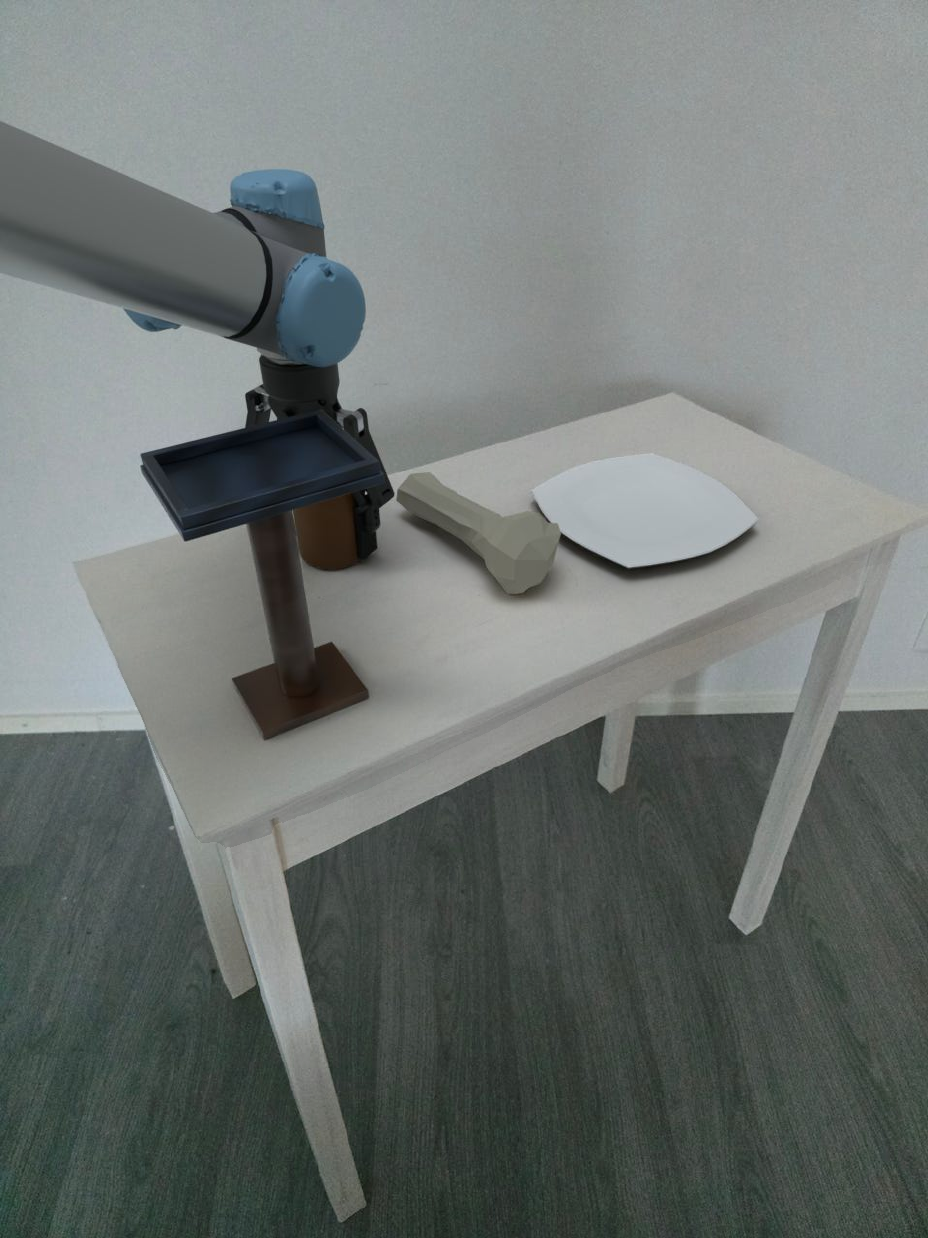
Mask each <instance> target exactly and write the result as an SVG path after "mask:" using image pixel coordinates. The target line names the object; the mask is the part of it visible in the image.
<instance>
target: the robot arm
mask: <svg viewBox="0 0 928 1238" xmlns="http://www.w3.org/2000/svg"><path fill="white" fill-rule="evenodd" d="M230 181H231V182H230V185H229V190H230V199H229V201H230V205H231V207H227V208H225V209H224V208H223V209H221V210H220V211H217V212H211V211H209V210H207V209H204V208H202V207H200V206H198V205H195V204H193V203H190V202H188V201H186V200H184V199H182V198H179V197H177V196H176V195H175V196H174V195H173V194H170V193H168V192H166V191H163V190H161V189H158V188H157V187H154V186H151V185H149V184H147V183H144V182H142V181H140V180H138V179H135V178H133V177H131V176H129V175H126V174H124V173H121V172H119V171H117V170H114V169H113V168H110V167H107V166H106V165H103V164H101V163H98V162H97V161H94V160H92V159H89V158H87V157H85V156H82V155H80V154H78V153H76V152H73V151H71V150H69V149H66V148H65V147H62V146H60V145H57V144H55V143H53V142H50V141H48V140H46V139H44V138H41V137H39V136H36V135H34V134H31V133H29V132H27V131H25V130H23V129H21V128H17V127H16V126H13V125H12V124H9V123H6V122H4V121H2V120H0V274H2V275H5V276H11V277H13V278H16V279H20V280H24V281H27V282H30V283H34V284H37V285H41V286H45V287H48V288H51V289H54V290H59V291H62V292H66V293H69V294H72V295H76V296H79V297H82V298H86V299H90V300H93V301H97V302H101V303H105V304H107V305H111V306H113V307H116V308H117V307H118V308H121V309H123V311H124V312H125V314H126V315H127V316H128V317H129V319H130V320H131V321H132V322H133V323H134V324H135V325H137V326H138V328H140V329H142V330H144V331H147V332H149V333H159V332H162V331H167V330H171V329H173V330H175V331H176V330H179V329H180V328H181V327H182V326H183V327H187V328H189V329H194V330H198V331H201V332H204V333H207V334H211V335H215V336H217V337H220V338H223V339H226V340H229V341H233V342H235V343H240V344H243V345H246V346H250V347H253V348H256V350H257V352H258V353H260V355H259V358H258V363H259V368H260V374H261V380H262V381H261V382H262V384H260V385H258V386H256V387H254V388H252V389H251V390H249V391H247V392H245V394H244V398H245V404H246V410H247V413H246V418H245V426H244V428H246V427H250V426H254V425H259V424H263V423H267V422H270V419H271V414H272V413H273V414H274V415H275V417H276V420H279V419H283V418H287V417H291V416H295V415H299V414H303V413H307V412H311V411H315V410H319V409H322V410H323V411H324V412H325V413H326V414H327V415H328V416H329V417H330V418H332V419H333V420H334V421H335V422H336V423H337V424H338V425H339V426H340V427H342V428H343V429H344V430H345V431H346V432H347V433H348V434H349V435H350V436H352V437H353V438H354V439H355V440H356V441H357V442H358V443H359V444H360V445H362V446H363V447H364V448H365V449H366V450H367V451H368V452H369V453H370V454H372V455H373V456H374V458H376V459H377V460H378V461H379V464H380V471H381V472H382V473H383V474H384V483H383V484H380V485H376V486H373V487H370V488H366V489H363V490H359V491H356V492H353V493H351V494H352V495H353V497H354V498H355V500H356V502H357V504H356V505H355V506H354V507H352V508H353V517H354V527H355V536H356V545H357V554H358V559H360V561H365V560H366V559H367V558H368V557H370V556H371V555H372V554H373V553H374V552H376V550H378V538H377V536H378V535H377V530H379V529H380V527H381V514H380V508H382V507H383V506H384V505H386V504H387V503H389V501H391V500H392V499H393V498H394V497H395V494H396V493H395V491H394V488H393V486H392V483H391V481H390V478H389V475H388V473H387V472H386V471H387V470H386V468H385V466H384V463H383V461H382V459H381V457H380V454H379V452H378V449H377V447H376V444H375V442H374V439H373V437H372V434H371V432H370V428H369V427H370V426H369V420H368V419H369V418H368V412H367V411H366V409H364V408H362V407H359V408H357V409H356V410H354V411H353V410H349V409H343V407H342V405H341V404H340V401H339V399H338V392H339V388H340V373H339V363H341V362H342V361H343V360H345V359H346V358H347V357H348V356H349V355H351V354H352V352H353V351H354V350H355V348H356V346H358V343H359V341H360V339H361V337H362V335H361V334H362V331H363V329H364V323H365V321H366V314H367V313H366V312H367V308H366V305H367V304H366V297H365V294H364V290H363V287H362V285H361V282H360V281H359V279H358V278H357V276H356V275H355V273H354V272H353V271H351V269H350V268H349V267H347V266H346V265H345V264H342V263H340V262H338V261H334V260H332V259H329V258H327V250H326V239H325V237H326V236H325V229H326V227H325V224H324V219H323V215H322V208H321V203H320V197H319V192H318V187H317V185H316V182H315V180H314V179H313V177H311V176H310V175H308V173H305V172H303V171H298V170H294V169H287V168H286V169H282V168H270V169H269V168H268V169H259V170H252V171H246V172H243V173H242V174H240V175H237V176H235V177H233V178H232V180H230ZM271 412H272V413H271Z"/></svg>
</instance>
